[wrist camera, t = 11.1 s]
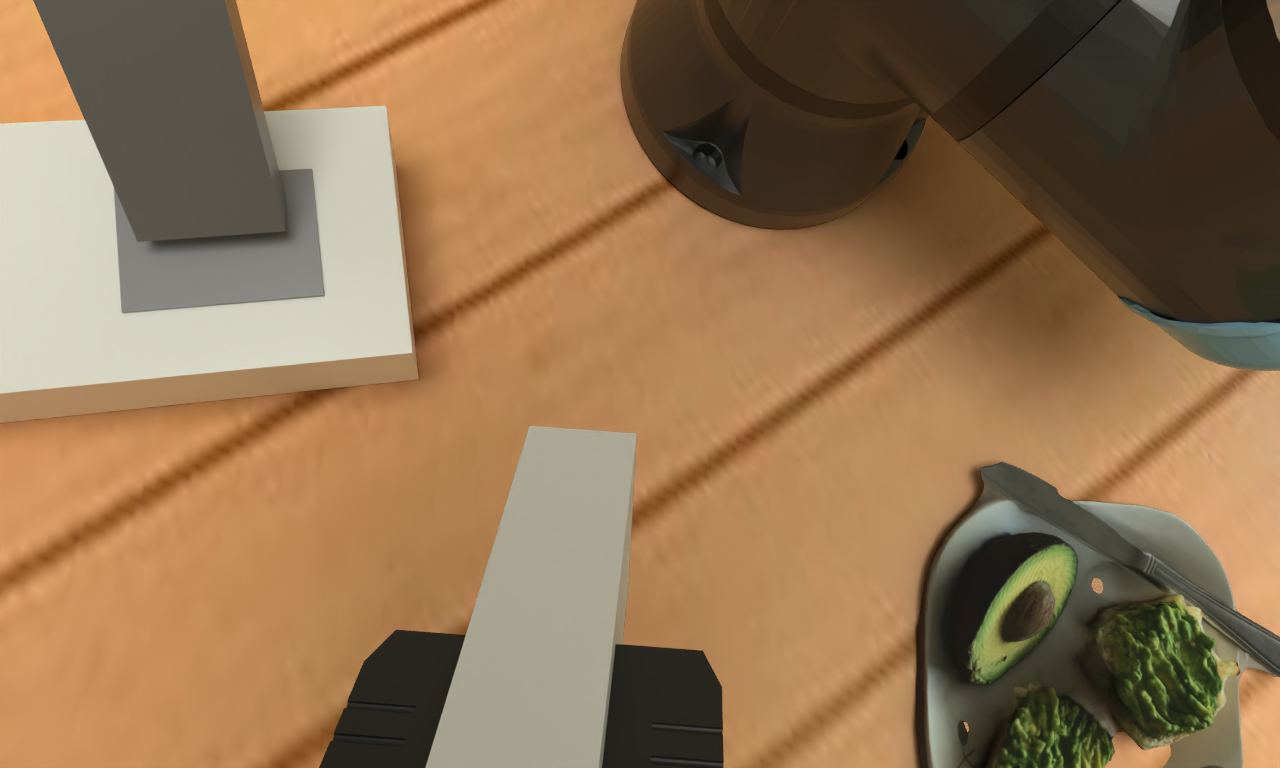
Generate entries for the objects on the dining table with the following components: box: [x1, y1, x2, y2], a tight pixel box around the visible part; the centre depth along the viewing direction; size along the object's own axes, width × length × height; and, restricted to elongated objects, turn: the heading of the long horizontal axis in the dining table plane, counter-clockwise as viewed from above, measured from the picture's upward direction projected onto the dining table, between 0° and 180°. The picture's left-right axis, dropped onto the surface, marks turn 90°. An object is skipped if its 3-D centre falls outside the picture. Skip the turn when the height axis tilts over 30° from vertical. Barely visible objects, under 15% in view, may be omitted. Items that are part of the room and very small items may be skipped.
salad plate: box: [916, 462, 1280, 768], centre depth 44 cm, size 19×18×5 cm
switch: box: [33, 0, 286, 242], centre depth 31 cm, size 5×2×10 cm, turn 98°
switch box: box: [0, 106, 419, 423], centre depth 37 cm, size 27×10×6 cm, turn 98°
